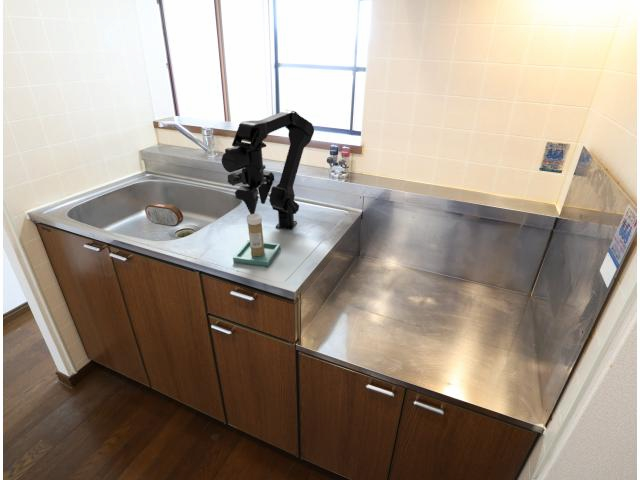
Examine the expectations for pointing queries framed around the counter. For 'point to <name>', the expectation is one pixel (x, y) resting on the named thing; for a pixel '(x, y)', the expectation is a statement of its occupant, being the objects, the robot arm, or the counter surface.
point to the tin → (164, 214)
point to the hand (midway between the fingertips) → (257, 208)
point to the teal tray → (262, 261)
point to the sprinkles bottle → (256, 234)
